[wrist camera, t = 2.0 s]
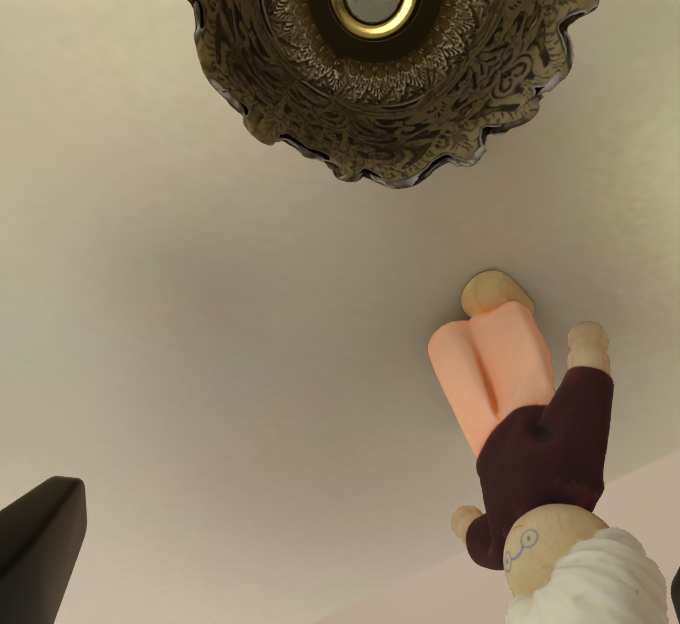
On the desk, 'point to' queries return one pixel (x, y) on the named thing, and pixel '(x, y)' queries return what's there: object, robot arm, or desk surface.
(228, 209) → the desk surface
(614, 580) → the grandmother figurine
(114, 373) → the desk surface
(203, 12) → the cup
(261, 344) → the desk surface
